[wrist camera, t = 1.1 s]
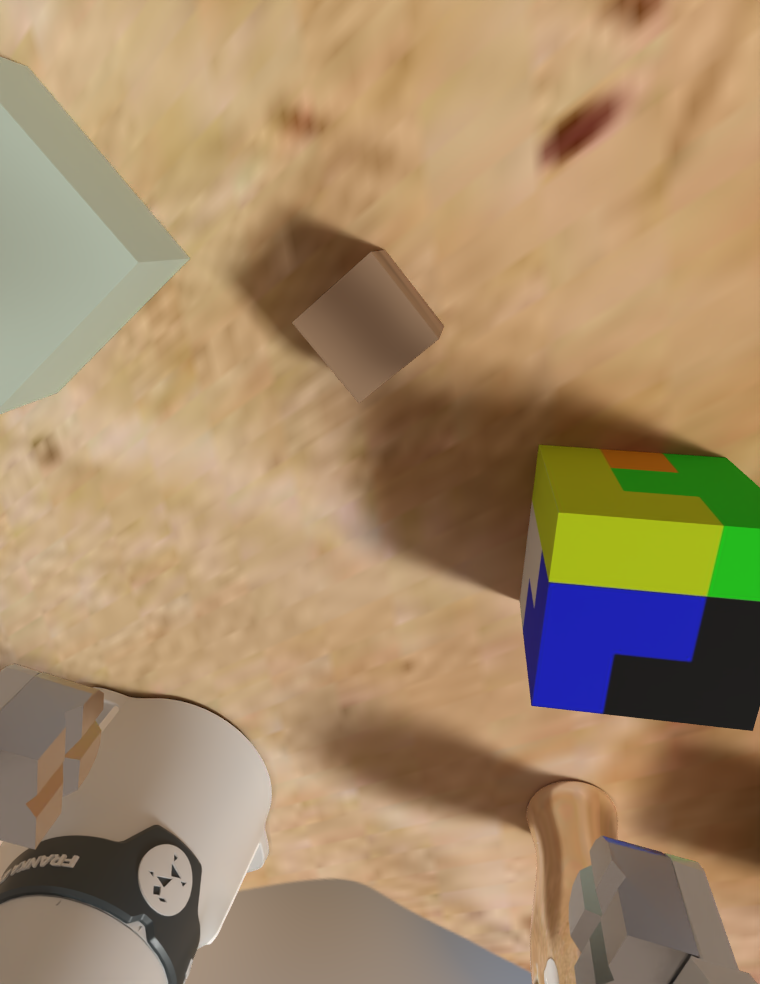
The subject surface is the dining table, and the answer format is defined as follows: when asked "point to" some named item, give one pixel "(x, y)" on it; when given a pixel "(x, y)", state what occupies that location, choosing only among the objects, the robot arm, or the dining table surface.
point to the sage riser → (64, 244)
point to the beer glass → (562, 869)
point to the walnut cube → (369, 324)
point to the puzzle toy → (643, 586)
